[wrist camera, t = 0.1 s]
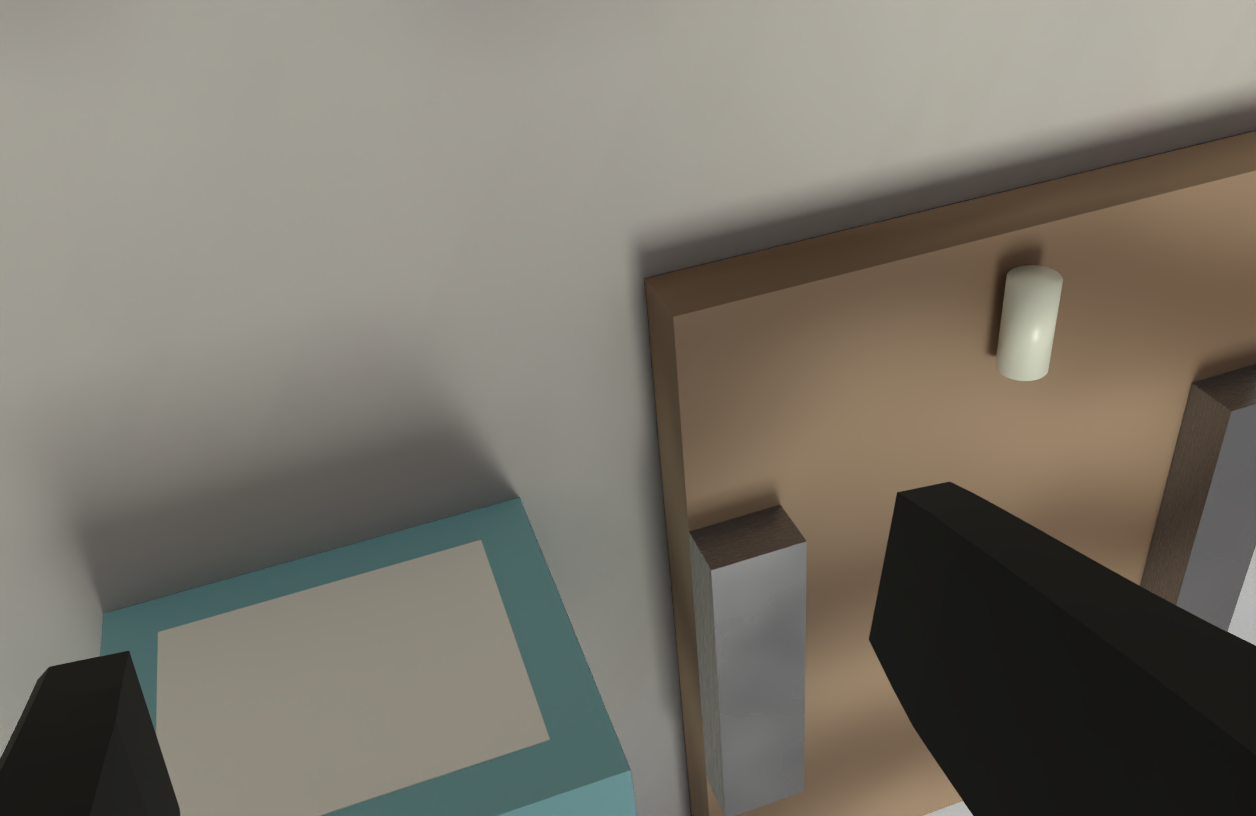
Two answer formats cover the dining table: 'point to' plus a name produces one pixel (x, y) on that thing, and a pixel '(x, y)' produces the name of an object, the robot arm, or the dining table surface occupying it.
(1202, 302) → the wooden board
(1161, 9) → the dining table surface
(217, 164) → the dining table surface
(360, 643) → the teal block
